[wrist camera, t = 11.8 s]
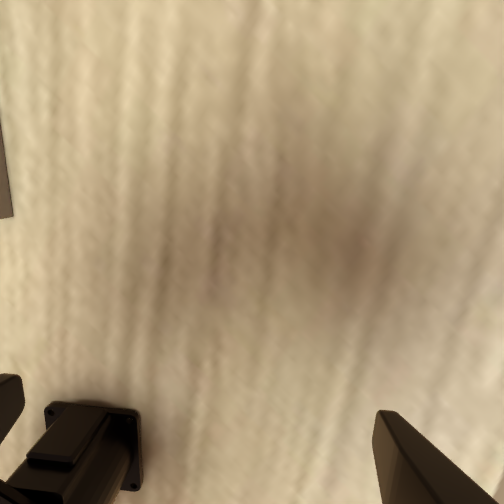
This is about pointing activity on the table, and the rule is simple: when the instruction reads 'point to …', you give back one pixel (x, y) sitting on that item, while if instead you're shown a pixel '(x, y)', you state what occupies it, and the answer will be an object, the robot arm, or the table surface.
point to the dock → (4, 186)
